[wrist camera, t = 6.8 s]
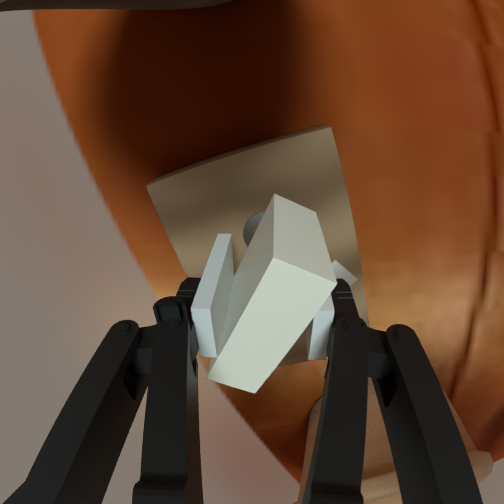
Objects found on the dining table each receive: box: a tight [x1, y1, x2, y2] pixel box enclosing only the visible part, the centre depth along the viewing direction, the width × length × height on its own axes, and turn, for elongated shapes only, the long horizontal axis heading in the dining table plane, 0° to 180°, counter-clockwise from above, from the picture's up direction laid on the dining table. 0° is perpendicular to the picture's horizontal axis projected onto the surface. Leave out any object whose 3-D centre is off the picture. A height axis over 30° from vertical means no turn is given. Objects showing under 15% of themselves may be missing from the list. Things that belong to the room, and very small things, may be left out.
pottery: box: [293, 377, 493, 504], centre depth 26 cm, size 22×22×14 cm
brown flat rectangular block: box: [146, 124, 369, 367], centre depth 23 cm, size 18×12×2 cm, turn 18°
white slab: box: [207, 194, 337, 393], centre depth 17 cm, size 2×11×9 cm, turn 157°
